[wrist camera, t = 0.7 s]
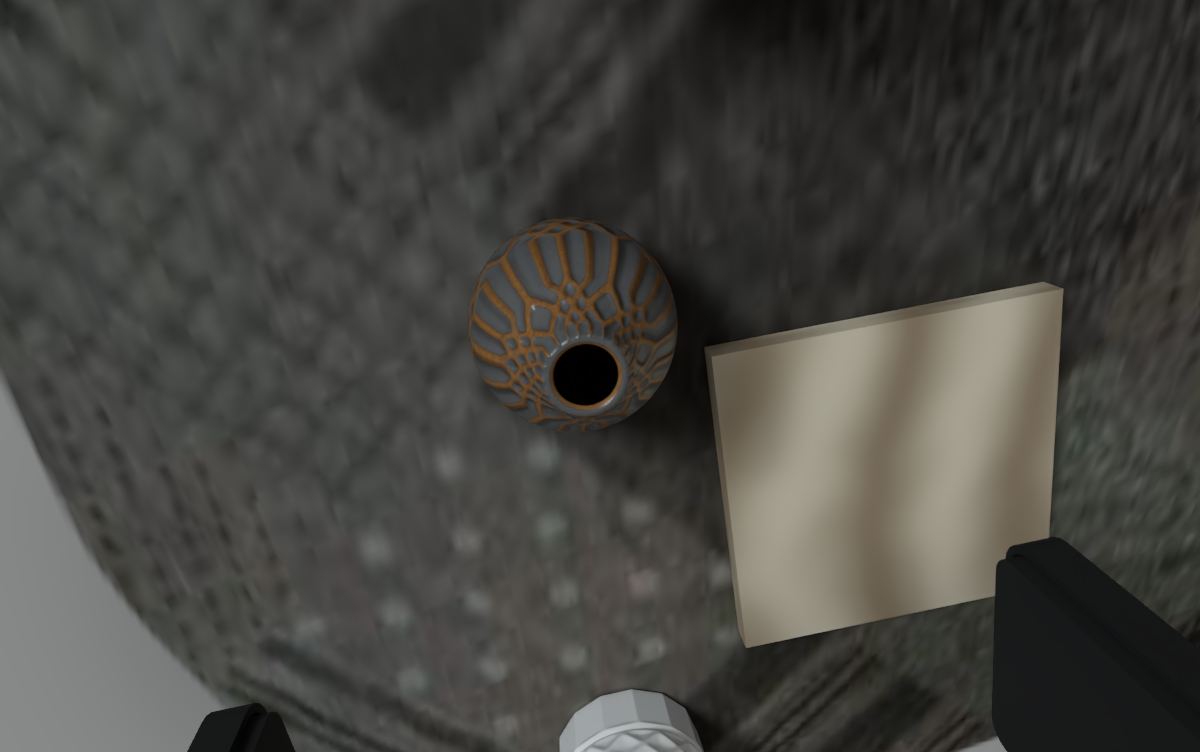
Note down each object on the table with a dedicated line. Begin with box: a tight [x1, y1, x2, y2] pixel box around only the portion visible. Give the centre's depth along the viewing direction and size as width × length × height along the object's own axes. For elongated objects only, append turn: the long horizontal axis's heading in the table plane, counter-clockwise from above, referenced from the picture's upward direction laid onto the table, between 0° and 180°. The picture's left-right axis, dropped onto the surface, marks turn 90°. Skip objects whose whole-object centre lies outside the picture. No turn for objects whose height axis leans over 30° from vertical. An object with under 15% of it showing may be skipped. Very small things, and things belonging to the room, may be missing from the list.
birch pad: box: [704, 282, 1063, 648], centre depth 32 cm, size 14×14×1 cm
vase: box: [468, 217, 678, 432], centre depth 25 cm, size 7×7×9 cm
